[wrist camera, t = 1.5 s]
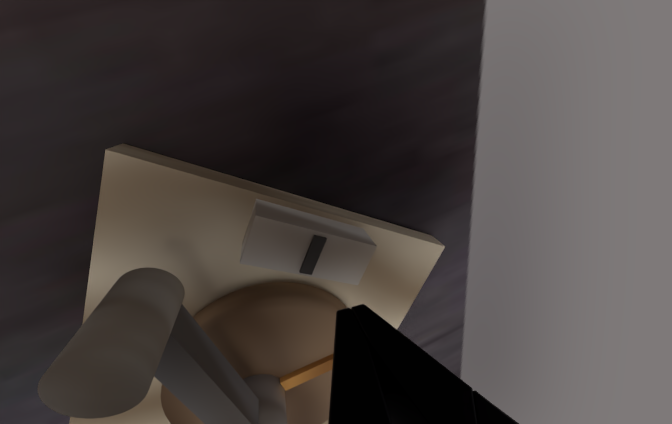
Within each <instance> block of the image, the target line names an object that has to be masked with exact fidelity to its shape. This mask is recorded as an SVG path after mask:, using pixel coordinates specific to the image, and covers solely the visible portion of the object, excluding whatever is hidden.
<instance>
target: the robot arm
mask: <svg viewBox="0 0 672 424" xmlns="http://www.w3.org/2000/svg"><path fill="white" fill-rule="evenodd" d="M328 424H519V423H517V422H516V421H515V420H513V419H512V418H511V417H509V416H508V415H506V414H505V413H504V412H502V411H501V410H500V409H499V408H497V407H496V406H494V405H493V404H492V403H490V402H489V401H488V400H487V399H485V398H484V397H483V396H482V395H480V394H479V393H478V392H477V391H472V388H471V387H470V386H469V385H467V384H466V383H465V382H463V381H462V380H461V379H460V378H458V377H457V376H456V375H455V374H453V373H452V372H451V371H449V370H448V369H447V368H446V367H444V366H443V365H442V364H440V363H439V362H438V361H437V360H435V359H434V358H433V357H431V356H430V355H429V354H428V353H426V352H425V351H424V350H422V349H421V348H420V347H419V346H417V345H416V344H415V343H414V342H412V341H411V340H410V339H408V338H407V337H406V336H405V335H403V334H402V333H401V332H399V331H398V330H397V329H396V328H394V327H393V326H392V325H390V324H389V323H388V322H387V321H385V320H384V319H383V318H382V317H380V316H379V315H378V314H376V313H375V312H374V311H373V310H371V309H370V308H369V307H367V306H366V305H364V304H360V305H356V306H353V307H351V309H350V308H344V309H341V310H338V311H337V312H336V324H335V338H334V351H333V365H332V379H331V393H330V407H329V421H328Z"/></svg>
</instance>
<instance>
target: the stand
mask: <svg viewBox="0 0 672 424" xmlns="http://www.w3.org/2000/svg"><path fill="white" fill-rule="evenodd" d="M444 248H445V246H444V245H443V244H442V243H440V242H439V241H438V240H437V239H435V238H434V237H433V236H432V235H428V234H425V233H422V232H418V231H415V230H412V229H408V228H405V227H401V226H398V225H395V224H391V223H388V222H385V221H381V220H378V219H375V218H371V217H368V216H365V215H361V214H358V213H355V212H351V211H348V210H345V209H341V208H338V207H335V206H331V205H328V204H324V203H321V202H318V201H314V200H311V199H308V198H304V197H301V196H298V195H294V194H291V193H288V192H284V191H281V190H278V189H274V188H271V187H268V186H264V185H261V184H258V183H254V182H251V181H248V180H244V179H241V178H237V177H234V176H231V175H227V174H224V173H221V172H217V171H214V170H211V169H207V168H204V167H201V166H197V165H194V164H191V163H187V162H184V161H181V160H177V159H174V158H171V157H167V156H164V155H161V154H157V153H154V152H150V151H147V150H144V149H140V148H137V147H134V146H130V145H127V144H124V143H123V144H120V145H117V146H114V147H111V148H108V149H106V150H105V158H104V166H103V173H102V181H101V188H100V196H99V203H98V211H97V218H96V226H95V233H94V241H93V249H92V256H91V264H90V271H89V279H88V286H87V294H86V301H85V309H84V317H83V324H84V322H85V321H86V320H87V318H88V317H89V316H90V315H91V313H92V312H93V311H94V309H95V308H96V307H97V306H98V304H99V303H100V302H101V301H102V299H103V298H104V297H105V295H106V294H107V293H108V292H109V290H110V289H111V288H112V286H113V285H114V284H115V283H116V281H117V280H118V279H119V278H120V277H121V276H122V275H123V274H125V273H127V272H129V271H131V270H134V269H138V268H147V267H150V268H158V269H162V270H165V271H168V272H170V273H171V274H173V275H174V276H176V277H177V278H178V279H179V280H180V281H181V283H182V285H183V287H184V291H185V295H184V299H183V302H182V304H183V306H184V307H185V308H186V309H187V311H188V312H189V313H190V314H191V316H192V317H194V316H195V315H196V314H197V313H198V312H200V311H201V310H202V309H204V308H205V307H206V306H207V305H209V304H211V303H212V302H214V301H215V300H217V299H219V298H221V297H223V296H225V295H227V294H229V293H231V292H234V291H237V290H239V289H242V288H245V287H249V286H253V285H258V284H264V283H271V282H293V283H302V284H307V285H311V286H314V287H317V288H321V289H323V290H325V291H327V292H329V293H331V294H332V295H334V296H335V297H337V298H338V299H339V300H340V301H341V302H343V303H344V304H345V306H346V307H347V308H350V309H351V307H353V306H356V305H360V304H364V305H366V306H367V307H369V308H370V309H371V310H373V311H374V312H375V313H376V314H378V315H379V316H380V317H382V318H383V319H384V320H385V321H387V322H388V323H389V324H390V325H392V326H393V327H394V328H396V329H398V327H399V325H400V324H401V322H402V320H403V319H404V317H405V315H406V313H407V312H408V310H409V308H410V306H411V305H412V303H413V301H414V300H415V298H416V296H417V294H418V293H419V291H420V289H421V287H422V286H423V284H424V282H425V281H426V279H427V277H428V275H429V274H430V272H431V270H432V268H433V267H434V265H435V263H436V262H437V260H438V258H439V256H440V255H441V253H442V251H443V250H444ZM83 324H82V325H83ZM161 386H162V383H161V382H160V381H158V380H157V379H156V378H155V377H154V378H153V380H152V383H151V386H150V388H149V391H148V393H147V395H146V397H145V398H144V399H143V400H142V401H141V402H140V403H139V404H138V405H137V406H135V407H133V408H132V409H130V410H128V411H126V412H123V413H121V414H118V415H114V416H110V417H104V418H95V419H85V418H75V417H70V422H69V424H171V423H170V422H169V420H168V419H167V417H166V416H165V413H164V411H163V408H162V404H161ZM328 421H329V419H328V420H327V421H326V422H324V423H322V424H328Z"/></svg>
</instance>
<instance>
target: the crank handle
mask: <svg viewBox="0 0 672 424" xmlns="http://www.w3.org/2000/svg"><path fill="white" fill-rule="evenodd" d="M184 295H185V291H184V287H183V285H182V283H181V281H180V280H179V279H178V278H177V277H176V276H174V275H173V274H171V273H170V272H168V271H165V270H162V269H158V268H150V267H147V268H138V269H134V270H131V271H129V272H127V273H125V274H123V275H122V276H121V277H120V278H119V279H118V280H117V281H116V283H115V284H114V285H113V286H112V288H111V289H110V290H109V292H108V293H107V294H106V295H105V297H104V298H103V299H102V301H101V302H100V303H99V304H98V306H97V307H96V308H95V309H94V311H93V312H92V313H91V315H90V316H89V317H88V318H87V320H86V321H85V322H84V324H83V325H82V326H81V327H80V329H79V330H78V331H77V333H76V334H75V335H74V336H73V338H72V339H71V340H70V341H69V343H68V344H67V345H66V347H65V348H64V349H63V350H62V352H61V353H60V354H59V356H58V357H57V358H56V359H55V361H54V362H53V363H52V365H51V366H50V367H49V368H48V370H47V371H46V372H45V374H44V375H43V376H42V378H41V379H40V381H39V384H38V395H39V397H40V399H41V401H42V402H43V403H44V404H45V405H46V406H47V407H49V408H50V409H52V410H53V411H55V412H58V413H60V414H63V415H66V416H70V417H75V418H85V419H95V418H104V417H110V416H114V415H118V414H121V413H123V412H126V411H128V410H130V409H132V408H133V407H135V406H137V405H138V404H139V403H140V402H141V401H142V400H143V399H144V398H145V397H146V395H147V393H148V391H149V388H150V386H151V383H152V380H153V378H154V377H155V378H156V379H157V380H158V381H160V382H161V383H162V386H161V404H162V408H163V411H164V413H165V416H166V417H167V419H168V420H169V422H170V423H171V424H322V423H324V422H326V421H327V420H328V419H329V407H330V393H331V379H332V365H333V351H334V338H335V324H336V312H337V311H338V310H341V309H344V308H347V307H346V306H345V304H344V303H343V302H341V301H340V300H339V299H338V298H337V297H335V296H334V295H332V294H331V293H329V292H327V291H325V290H323V289H321V288H317V287H314V286H311V285H307V284H302V283H293V282H271V283H264V284H258V285H253V286H249V287H245V288H242V289H239V290H237V291H234V292H231V293H229V294H227V295H225V296H223V297H221V298H219V299H217V300H215V301H214V302H212V303H211V304H209V305H207V306H206V307H205V308H204V309H202V310H201V311H200V312H198V313H197V314H196V315H195V316H194V317H192V316H191V314H190V313H189V312H188V311H187V309H186V308H185V307H184V306H183V304H182V302H183V299H184Z"/></svg>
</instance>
